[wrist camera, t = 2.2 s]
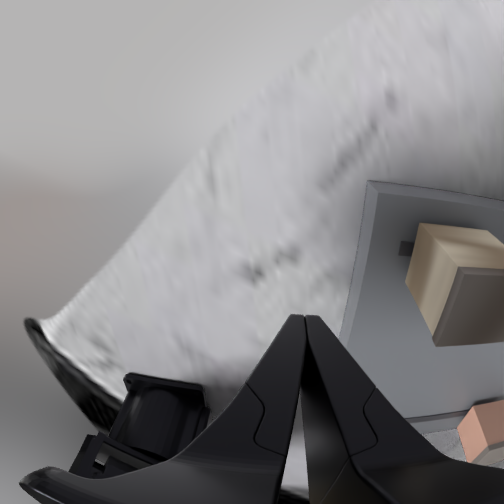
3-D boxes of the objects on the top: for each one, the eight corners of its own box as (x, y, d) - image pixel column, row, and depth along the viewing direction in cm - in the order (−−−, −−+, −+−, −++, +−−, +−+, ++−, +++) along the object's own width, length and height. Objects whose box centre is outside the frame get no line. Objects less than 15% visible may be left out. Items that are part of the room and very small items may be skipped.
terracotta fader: (455, 427, 20) (468, 470, 16) (472, 405, 18) (489, 450, 14) (490, 420, 19) (505, 459, 15) (507, 398, 18) (525, 438, 14)
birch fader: (403, 282, 14) (435, 346, 10) (418, 221, 13) (464, 274, 9) (470, 284, 14) (510, 341, 10) (488, 229, 12) (540, 277, 8)
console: (316, 420, 23) (317, 441, 21) (367, 180, 15) (378, 193, 13) (491, 404, 22) (498, 419, 20) (581, 219, 13) (598, 231, 11)
